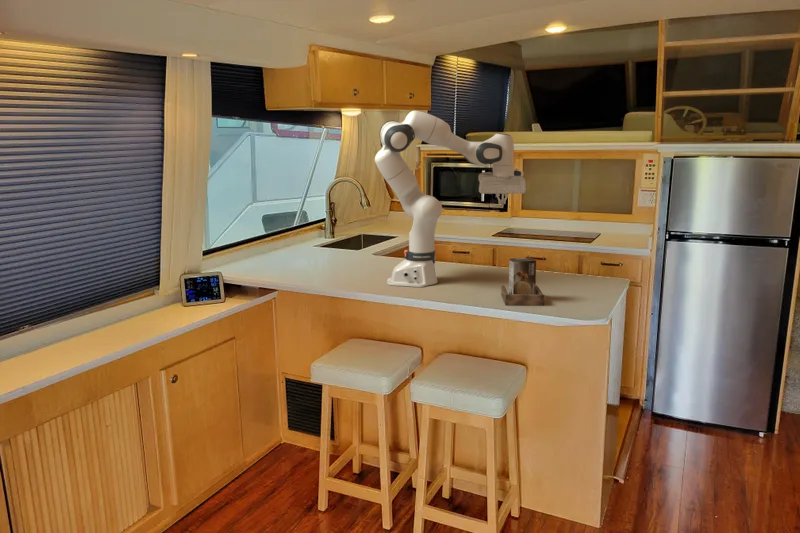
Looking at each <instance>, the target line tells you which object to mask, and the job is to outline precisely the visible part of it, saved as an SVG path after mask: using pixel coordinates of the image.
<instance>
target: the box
mask: <svg viewBox="0 0 800 533" xmlns="http://www.w3.org/2000/svg"><path fill="white" fill-rule="evenodd" d="M500 295H501V298H502V300H503V304H504V306H526V307H527V306H533V307H534V306H535V307H536V306H540V307H544V305H545V304H544V303H545V295H544V293H543V291H542V290H541V289H540V287H539V286H538V285H536V287H535V295H521V294H509V291H508V290H507V288H506V286H505V285H504V284H503V285H501V288H500Z"/></svg>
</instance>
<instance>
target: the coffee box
mask: <svg viewBox="0 0 800 533" xmlns="http://www.w3.org/2000/svg"><path fill="white" fill-rule="evenodd" d="M508 263H509V265H508V266H509V267H508V268H509V269H508V270H509V271H508V294H521V295H535V287H536V286H537V285H536V282H537V280H536V279H537V260H535V259H534V258H532V257H518V258H517V257H516V258H515V257H514V258H509V262H508Z"/></svg>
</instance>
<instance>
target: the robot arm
mask: <svg viewBox="0 0 800 533" xmlns="http://www.w3.org/2000/svg"><path fill="white" fill-rule="evenodd" d="M415 139H417V140H420V141H422V142H424V143H426V144H429V145H432V146H437V147H443V148H446V149H449V150H451V151H454V152H455V153H458V154H460V155H462V157H464V159H465V160H466V161H467V162H469V163H470V164H471V165H483V166H486V165H490V164H492V171H487V172H486V171H484V172H480V173H479V174H478V179H477V180H478V182H479V184H478V192H479V194H482V195H483V194H484V195H485V194H486V195H487V194H488V195H493V194H495V197H496V198H497V200H498V204H499V205H506V201H507V199H508V198H509V194H510V195H511V194H514V195H516V194H517V195H518V194H519V195H520V194H521V195H522V194H525V193H526V192H527V182H526V179H525V177H524V174H525V172H524V171H523V170H520V169H518V168H514V162H513V160H514V159H513V158H514V154H515V145H514V139H513V136H512V135H510V134H507V133H501V132H499V133H495V134H494V135H493V136H492V137H489V138H488V139H486V140H484V141H478V140H472V141H471V140H470V141H469V140H466V139H464V138H462V137H460V136H458V135H456V134H455V133H453V132H452V130H451V126H450V124H449V123H447V121H446V122H445V120H443V119H441V118H440V117H437V116H435V115H433V114H430V113H428V112H424V111H420V110H412V111H410V112H409V113H408V114H407V115H406V116H405V118H404V120H403V121H402V122H399V121H396V120H387V121H386V122H384V123H383V124H382V125H381V127H380V129H379V141H380V147H381V149H379V150H378V152H376V154H375V157H374V163H375V165H376V166H377V169H378V171H379V172H380V174H381V176H382V177H383V179H384V180H385V181H386V183H387V184H388V186H390V188H391V190H392V191H393V192H394V194H395V195H396V197H397V198H398V201H399V203H400V205H401V207H402V210H403V212H404V213H405V214H406V215H407V216H409V217H411V218H413V222H412V226H411V229H410V230H409V233H408V249H405V250H403V251H404V252H403V254H404V255H403V256H404V259H403V260H402V261H400V262H399V263H398V264H397V265H395V266H394V268H393V269H392V273H391V276H390V277H388V278H387V279H386V284H387V285H388V286H397V287H415V288H416V287H417V288H423V287H424V288H425V287H428V286H432V285H436V284H437V283H438V277H437V272H436V264H435V263H436V251H435V233H436V227H437V223H438V219H439V218H440V217H441V215H442V213H443V206H442V204H441V201H439V199H437V198H436V197H435V196H433V195H428V194H425V193H424V192H423V191H422V190H421V188H420V186H419V183H418V179H417V176H416V175H415V174H414V173H413V171H412V170H411V169H410V168H411V167H409V166H408V164H407V163H406V162H405V160H404V159H403V157H402V155H401V152H404V151H406V150H407V149H408V147H409V146H410V145H411V143H412V142H413V141H414V140H415ZM500 194H501V195H502V194H504V198H503V199H500V196H501V195H500Z"/></svg>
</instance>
